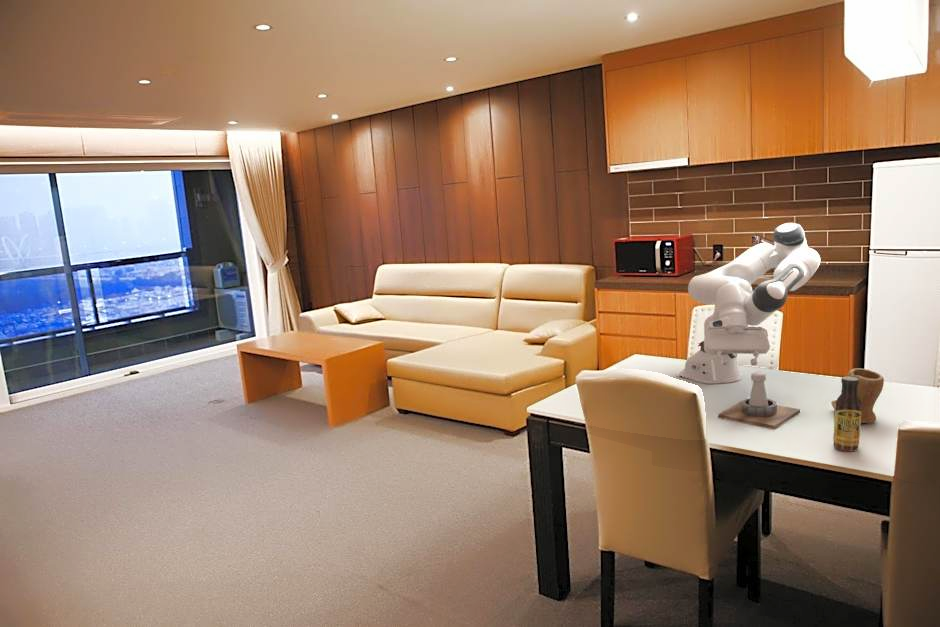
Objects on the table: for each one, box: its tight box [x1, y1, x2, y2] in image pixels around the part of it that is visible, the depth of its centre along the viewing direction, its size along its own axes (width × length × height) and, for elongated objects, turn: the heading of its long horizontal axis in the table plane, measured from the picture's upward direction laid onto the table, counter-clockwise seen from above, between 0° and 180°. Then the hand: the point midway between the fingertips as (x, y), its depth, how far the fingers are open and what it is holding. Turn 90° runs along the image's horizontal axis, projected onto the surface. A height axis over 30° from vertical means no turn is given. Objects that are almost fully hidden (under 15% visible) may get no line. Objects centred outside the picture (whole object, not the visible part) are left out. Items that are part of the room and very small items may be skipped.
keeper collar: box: [742, 397, 778, 417], centre depth 214 cm, size 10×10×3 cm
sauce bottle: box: [832, 376, 862, 452], centre depth 183 cm, size 7×6×20 cm
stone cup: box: [830, 367, 885, 424], centre depth 205 cm, size 15×12×15 cm
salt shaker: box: [749, 371, 769, 407], centre depth 213 cm, size 6×6×13 cm
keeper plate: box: [718, 400, 801, 430], centre depth 215 cm, size 18×18×1 cm
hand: (739, 364), depth 219 cm, fingers open, 8 cm apart
